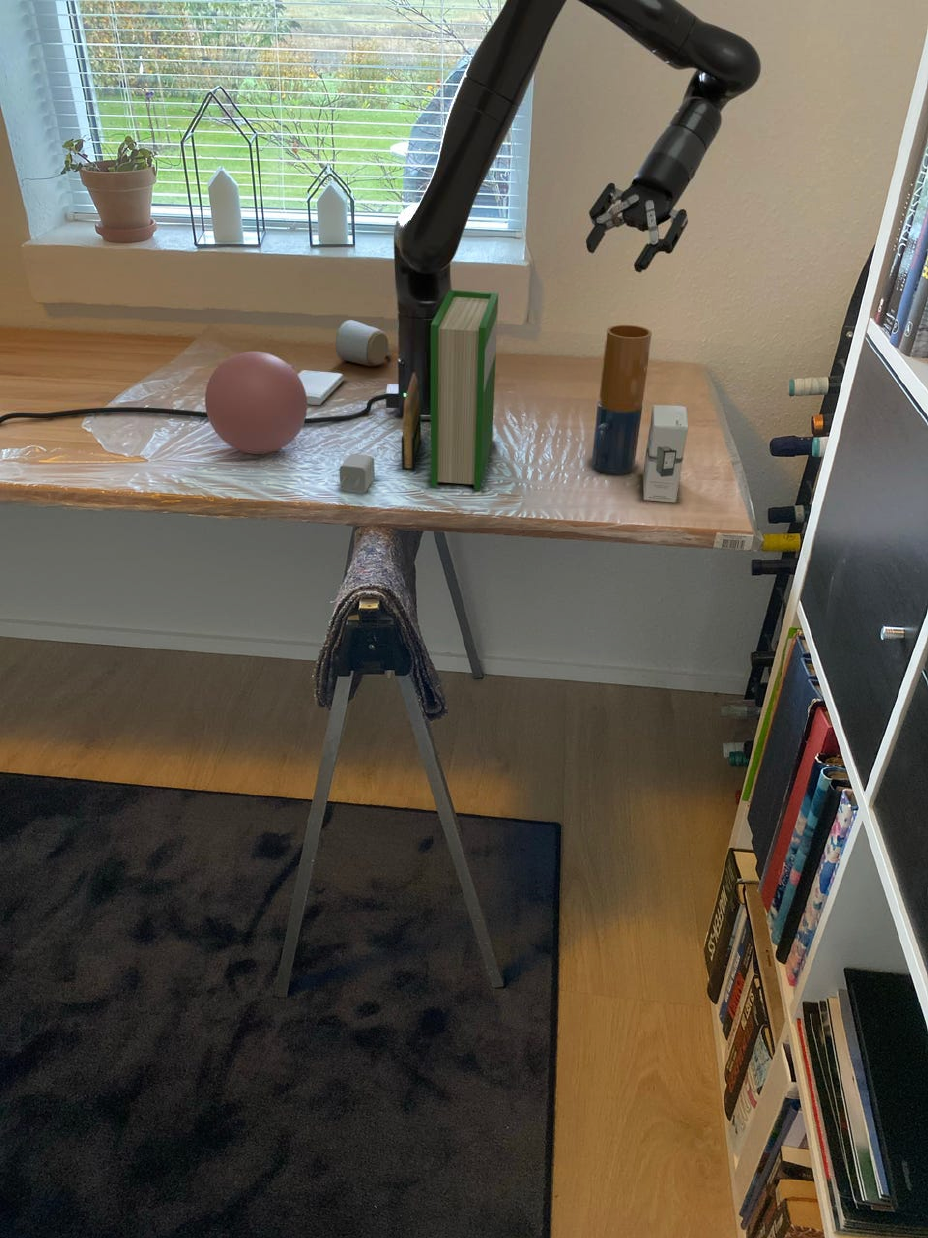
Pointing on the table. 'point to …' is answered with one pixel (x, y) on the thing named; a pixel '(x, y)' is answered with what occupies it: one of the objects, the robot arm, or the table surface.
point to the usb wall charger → (357, 473)
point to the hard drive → (319, 385)
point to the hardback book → (462, 386)
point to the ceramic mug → (361, 343)
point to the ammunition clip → (411, 426)
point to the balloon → (256, 402)
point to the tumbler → (624, 368)
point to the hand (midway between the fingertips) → (612, 259)
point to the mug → (615, 441)
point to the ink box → (664, 453)
